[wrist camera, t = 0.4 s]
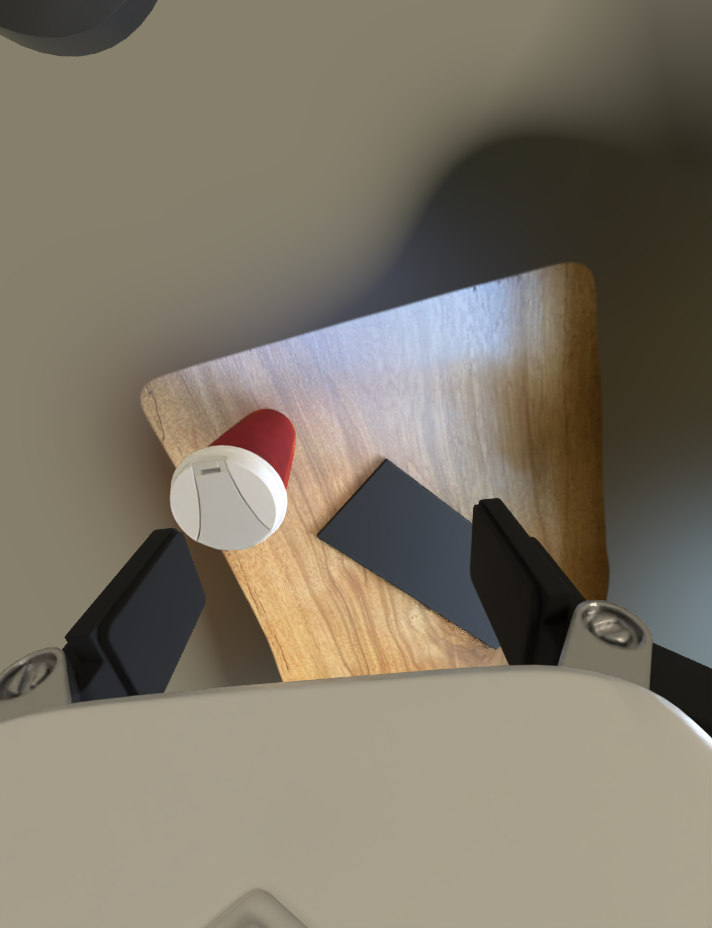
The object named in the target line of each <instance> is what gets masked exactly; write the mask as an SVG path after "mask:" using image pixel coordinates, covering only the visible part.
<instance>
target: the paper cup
mask: <svg viewBox="0 0 712 928" xmlns="http://www.w3.org/2000/svg"><path fill="white" fill-rule="evenodd" d="M295 445H296V432H295V429H294V426H293V424H292V423H291V421H290V420H289V419H288V418H287V417H286V416H285V415H283V414H282V413H280V412H278V411H275V410H271V409H261V410H257V411H254V412H252V413H250V414H249V415H247V416H246V417H245V418H243V419H242V420H240V421H239V422H238V423H237V424H235V425H234V426H233V427H231V428H230V429H229V430H228V431H226V432H225V433H224V434H223V435H221V436H220V437H219V438H218V439H216V440H215V441H214V442H213V443H211V444H210V445H209V446H208V447H206V448H202V449H200V450H197V451H195V452H193V453H192V454H190V455H188V456H187V457H186V458H185V459H184V460H183V461H182V462H181V463H180V464H179V466H178V467H177V468H176V470H175V472H174V475H173V478H172V482H171V492H170V504H171V510H172V513H173V516H174V518H175V520H176V522H177V523H178V524H179V526H180V527H181V529H182V530H183V531H184V532H185V533H186V534H187V535H188V536H190V537H191V538H192V539H194V540H195V541H197V542H199V543H202V544H204V545H207V546H210V547H212V548H215V549H221V550H242V549H247V548H250V547H253V546H255V545H256V544H259V543H261V542H263V541H264V540H265V539H266V538H267V537H269V536H270V535H271V534H273V533H274V532H275V531H276V530H277V528H278V527H279V526H280V524H281V523H282V521H283V519H284V517H285V514H286V509H287V494H286V489H287V484H288V480H289V475H290V470H291V466H292V461H293V456H294V451H295Z"/></svg>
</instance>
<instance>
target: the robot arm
mask: <svg viewBox="0 0 712 928" xmlns="http://www.w3.org/2000/svg"><path fill="white" fill-rule="evenodd" d="M470 577H471V581H472V583H473V586H474V588H475V590H476V592H477V595H478V597H479V599H480V601H481V604H482V606H483V608H484V610H485V613H486V615H487V617H488V619H489V621H490V624H491V626H492V628H493V630H494V633H495V635H496V637H497V639H498V642H499V644H500V646H501V648H502V650H503V653H504V655H505V657H506V659H507V662H508V664H509V665H503V666H487V667H471V668H455V669H440V670H427V671H415V672H402V673H389V674H377V675H364V676H351V677H340V678H328V679H316V680H304V681H292V682H280V683H269V684H257V685H246V686H234V687H223V688H212V689H202V690H190V691H179V692H168V693H164V691H165V689H166V687H167V685H168V683H169V681H170V679H171V676H172V674H173V672H174V670H175V667H176V666H177V664H178V661H179V659H180V657H181V655H182V653H183V651H184V649H185V646H186V644H187V642H188V640H189V637H190V636H191V633H192V631H193V629H194V627H195V625H196V623H197V621H198V618H199V616H200V614H201V612H202V610H203V608H204V605H205V593H204V590H203V587H202V585H201V582H200V579H199V576H198V574H197V571H196V568H195V565H194V562H193V559H192V557H191V554H190V551H189V548H188V546H187V543H186V540H185V537H184V535H183V533H181V532H178V531H177V530H176V529H175V528H168V529H158V530H154V531H153V532H152V533H151V534H150V536H149V537H148V538H147V539H146V541H145V542H144V543H143V544H142V545H141V546H140V548H139V549H138V550H137V551H136V552H135V554H134V555H133V556H132V557H131V558H130V559H129V561H128V562H127V563H126V564H125V565H124V567H123V568H122V569H121V570H120V572H119V573H118V574H117V575H116V576H115V577H114V579H113V580H112V581H111V582H110V583H109V585H108V586H107V587H106V588H105V589H104V590H103V592H102V593H101V594H100V595H99V596H98V598H97V599H96V600H95V601H94V602H93V604H92V605H91V606H90V607H89V608H88V610H87V611H86V612H85V613H84V614H83V616H82V617H81V618H80V619H79V620H78V621H77V623H76V624H75V625H74V626H73V627H72V629H71V630H70V631H69V632H68V633H67V635H66V636H65V639H66V640H67V642H68V643H67V644H66V645H65V647H64V648H63V649H59V648H57V647H50V648H49V647H48V648H44V649H40V650H37V651H35V652H33V653H30V654H28V655H26V656H24V657H23V658H21V659H19V660H17V661H16V662H14V663H13V664H11V665H10V666H9V667H7V668H6V669H5V670H4V671H3V672H2V673H1V674H0V928H712V669H711V668H709V667H707V666H705V665H702V664H700V663H697V662H695V661H693V660H691V659H689V658H686V657H684V656H681V655H679V654H677V653H675V652H673V651H671V650H668V649H666V648H664V647H661V646H659V645H657V644H655V643H652V636H651V632H650V630H649V629H648V627H647V625H646V624H645V623H644V622H643V621H642V620H641V619H640V618H639V617H638V616H637V615H635V614H633V613H632V612H631V611H629V610H628V609H626V608H623V607H621V606H619V605H617V604H614V603H610V602H607V601H601V600H589V601H586V600H585V598H584V597H583V596H582V595H581V593H580V592H579V591H578V590H577V588H576V587H575V586H574V585H573V583H572V582H571V581H570V580H569V578H568V577H567V576H566V575H565V573H564V572H563V571H562V570H561V568H560V567H559V566H558V565H557V563H556V562H555V561H554V560H553V558H552V557H551V556H550V555H549V554H548V552H547V551H546V550H545V549H544V547H543V546H542V545H541V544H540V542H539V541H538V540H537V539H536V538H534V537H529V535H528V534H527V533H526V531H525V530H524V529H523V528H522V526H521V525H520V524H519V522H518V521H517V520H516V519H515V517H514V516H513V515H512V513H511V512H510V511H509V510H508V508H507V507H506V506H505V504H504V503H503V502H502V501H501V500H500V499H499V498H493V499H483V500H480V501H479V504H478V505H474V507H473V521H472V539H471V557H470Z"/></svg>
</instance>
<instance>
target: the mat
mask: <svg viewBox="0 0 712 928" xmlns="http://www.w3.org/2000/svg"><path fill="white" fill-rule="evenodd" d="M317 537H318V538H320V539H321V540H323V541H325V542H326V543H328V544H329V545H331V546H332V547H334V548H336V549H337V550H339V551H340V552H342V553H344V554H345V555H347V556H348V557H350V558H351V559H353V560H355V561H356V562H358V563H359V564H361V565H362V566H364V567H366V568H367V569H369V570H370V571H372V572H374V573H375V574H377V575H378V576H380V577H381V578H383V579H385V580H386V581H388V582H389V583H391V584H393V585H394V586H396V587H397V588H399V589H400V590H402V591H404V592H405V593H407V594H408V595H410V596H412V597H413V598H415V599H416V600H418V601H419V602H421V603H423V604H424V605H426V606H427V607H429V608H431V609H432V610H434V611H435V612H437V613H438V614H440V615H442V616H443V617H445V618H446V619H448V620H450V621H451V622H453V623H454V624H456V625H457V626H459V627H461V628H462V629H464V630H465V631H467V632H468V633H470V634H472V635H473V636H475V637H476V638H478V639H480V640H481V641H483V642H484V643H486V644H487V645H489V646H491V647H492V648H494V649H495V650H496V649H497V648H499V647H500V644H499V642H498V639H497V637H496V635H495V633H494V630H493V628H492V626H491V624H490V621H489V619H488V617H487V615H486V613H485V610H484V608H483V606H482V604H481V601H480V599H479V597H478V595H477V592H476V590H475V588H474V586H473V583H472V581H471V577H470V557H471V539H472V523H471V522H470V521H468V520H467V519H466V518H464V517H463V516H462V515H460V514H459V513H458V512H456V511H455V510H454V509H452V508H451V507H450V506H448V505H447V504H446V503H444V502H443V501H442V500H440V499H439V498H438V497H437V496H435V495H434V494H433V493H431V492H430V491H429V490H427V489H426V488H425V487H423V486H422V485H421V484H419V483H418V482H417V481H415V480H414V479H413V478H411V477H410V476H409V475H407V474H406V473H405V472H403V471H402V470H401V469H399V468H398V467H397V466H395V465H394V464H393V463H392V462H390V461H389V460H388V459H385V460H384V462H383V463H382V464H381V465H380V466H379V467H378V468H377V469H376V470H375V471H374V473H373V474H372V475H371V476H370V477H369V478H368V479H367V480H366V481H365V482H364V484H363V485H362V486H361V487H360V488H359V489H358V490H357V491H356V492H355V493H354V495H353V496H352V497H351V498H350V499H349V500H348V501H347V502H346V503H345V504H344V506H343V507H342V508H341V509H340V510H339V511H338V512H337V513H336V514H335V516H334V517H333V518H332V519H331V520H330V521H329V522H328V523H327V524H326V525H325V527H324V528H323V529H322V530H321V531H320V532H319V533H318V536H317Z"/></svg>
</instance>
